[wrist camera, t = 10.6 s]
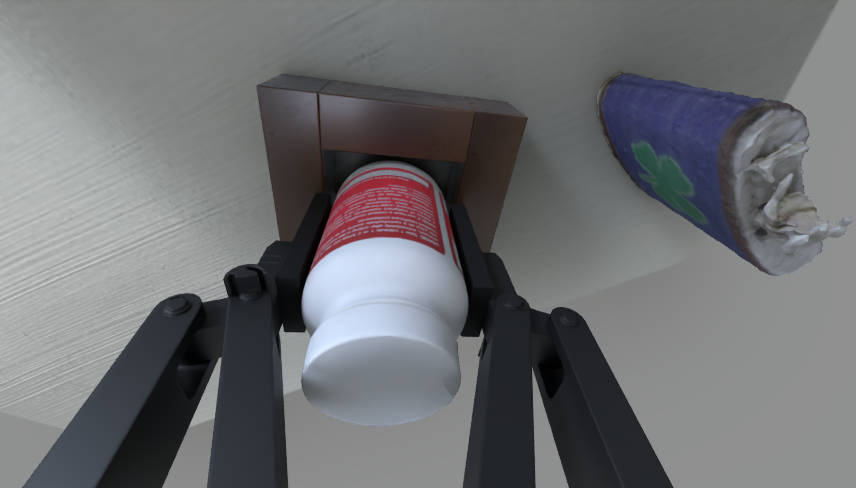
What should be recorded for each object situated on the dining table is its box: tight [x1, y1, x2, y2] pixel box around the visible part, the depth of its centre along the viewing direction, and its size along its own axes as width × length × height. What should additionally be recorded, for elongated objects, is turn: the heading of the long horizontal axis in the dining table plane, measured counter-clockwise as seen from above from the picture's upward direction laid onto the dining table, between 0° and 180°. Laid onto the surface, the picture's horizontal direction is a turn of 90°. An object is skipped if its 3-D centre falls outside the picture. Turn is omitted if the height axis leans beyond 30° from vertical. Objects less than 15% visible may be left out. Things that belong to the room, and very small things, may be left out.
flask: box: [597, 70, 853, 276], centre depth 15 cm, size 9×3×11 cm, turn 41°
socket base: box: [257, 74, 527, 253], centre depth 19 cm, size 12×12×4 cm
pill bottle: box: [301, 160, 468, 426], centre depth 14 cm, size 6×6×11 cm
